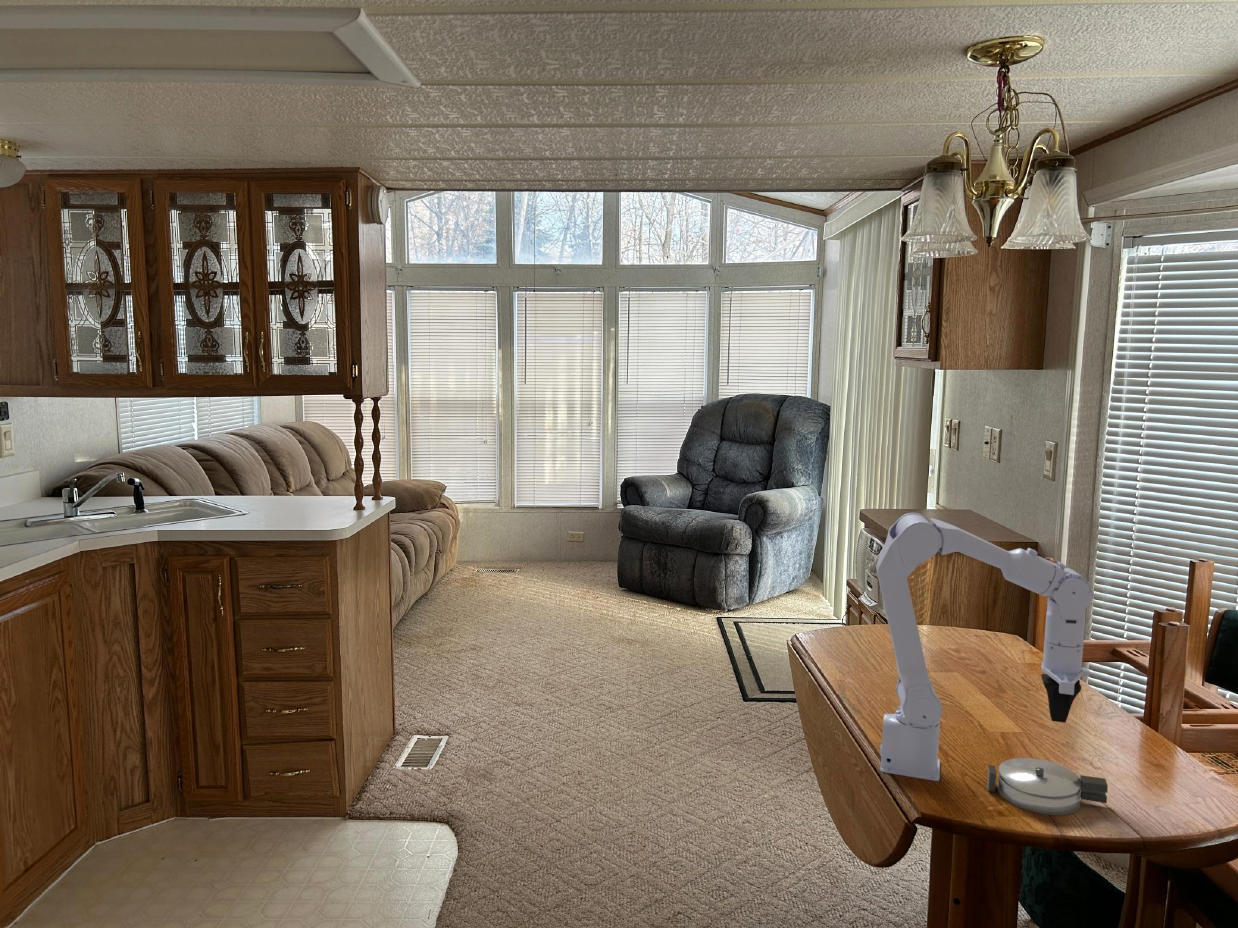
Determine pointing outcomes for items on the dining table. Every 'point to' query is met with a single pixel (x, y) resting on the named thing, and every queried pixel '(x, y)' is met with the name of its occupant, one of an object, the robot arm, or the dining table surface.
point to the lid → (1046, 778)
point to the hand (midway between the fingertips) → (1058, 720)
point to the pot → (1042, 798)
